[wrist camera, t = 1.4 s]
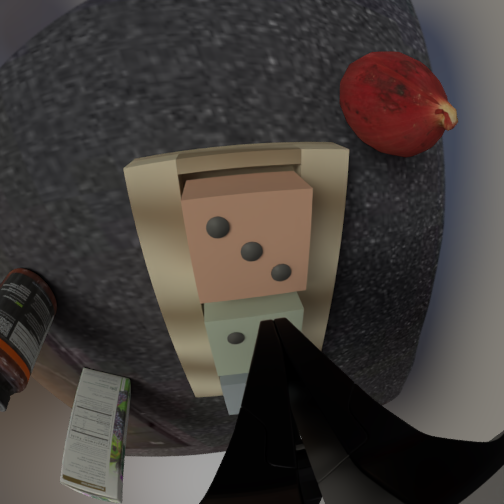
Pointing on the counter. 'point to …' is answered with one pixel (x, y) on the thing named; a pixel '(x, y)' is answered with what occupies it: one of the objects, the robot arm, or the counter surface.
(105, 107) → the counter surface
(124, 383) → the syrup box
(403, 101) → the onion
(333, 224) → the tile tray
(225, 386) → the single dot cube
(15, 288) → the supplement bottle
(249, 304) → the tile two pip
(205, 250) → the tile three pip
